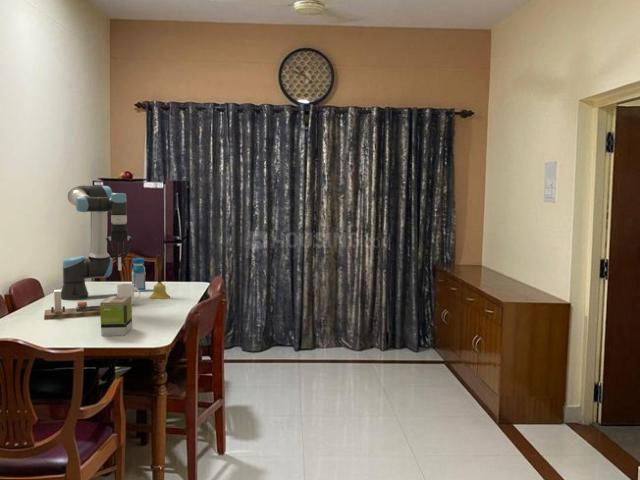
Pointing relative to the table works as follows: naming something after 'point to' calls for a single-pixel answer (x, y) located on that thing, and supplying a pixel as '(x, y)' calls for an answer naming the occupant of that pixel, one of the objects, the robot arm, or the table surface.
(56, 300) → the toggle lever
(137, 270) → the beverage bottle
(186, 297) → the table surface
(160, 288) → the handbell
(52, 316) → the control board
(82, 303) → the push button
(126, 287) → the mug
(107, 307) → the tea box
